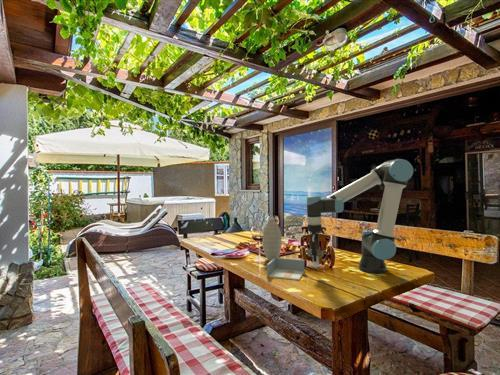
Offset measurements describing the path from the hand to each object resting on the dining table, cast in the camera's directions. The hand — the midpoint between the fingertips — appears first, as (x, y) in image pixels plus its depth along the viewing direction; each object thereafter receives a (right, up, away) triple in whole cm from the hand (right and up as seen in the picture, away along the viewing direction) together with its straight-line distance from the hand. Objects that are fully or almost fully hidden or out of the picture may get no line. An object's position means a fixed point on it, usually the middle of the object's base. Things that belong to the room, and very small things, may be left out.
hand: (316, 265), depth 164 cm
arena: (-16, -6, +5) cm, 18 cm away
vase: (-22, -5, +34) cm, 41 cm away
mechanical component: (0, -1, 0) cm, 1 cm away
